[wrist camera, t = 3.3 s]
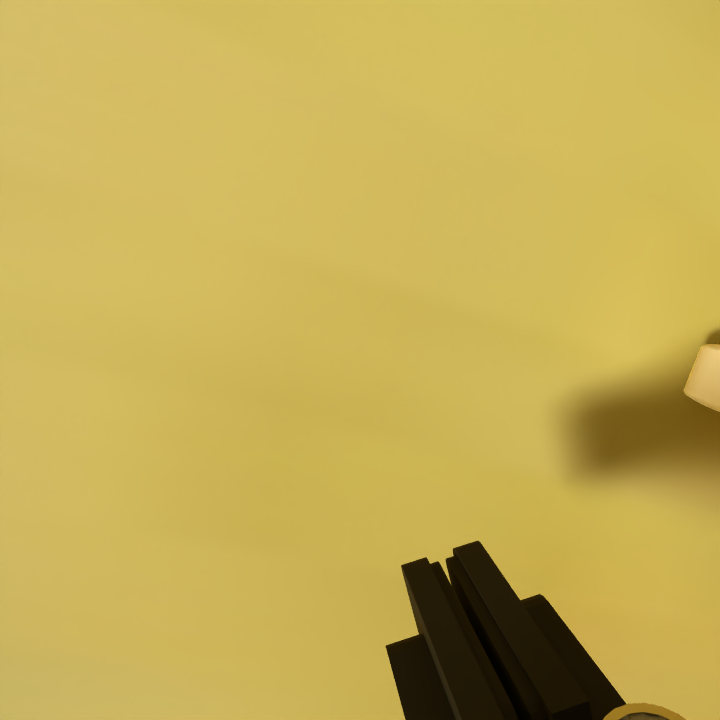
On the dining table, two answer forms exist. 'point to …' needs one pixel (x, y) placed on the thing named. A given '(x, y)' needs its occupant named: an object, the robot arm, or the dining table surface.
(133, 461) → the dining table surface
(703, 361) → the cable organizer
